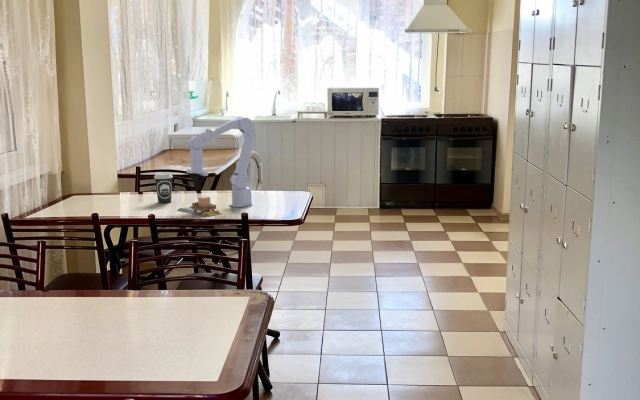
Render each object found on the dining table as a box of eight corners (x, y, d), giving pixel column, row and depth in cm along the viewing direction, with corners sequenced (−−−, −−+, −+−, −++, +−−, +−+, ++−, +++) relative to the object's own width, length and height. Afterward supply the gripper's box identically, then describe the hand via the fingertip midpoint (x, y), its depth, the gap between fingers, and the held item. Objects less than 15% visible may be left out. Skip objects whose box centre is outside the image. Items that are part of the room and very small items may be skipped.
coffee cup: (178, 201, 353) (176, 172, 350) (166, 204, 345) (165, 175, 342) (163, 200, 357) (161, 171, 354) (151, 203, 348) (149, 174, 346)
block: (205, 206, 325) (204, 196, 324) (210, 207, 322) (210, 197, 321) (198, 207, 322) (198, 197, 321) (203, 208, 319) (203, 198, 318)
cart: (206, 208, 328) (205, 200, 327) (216, 211, 323) (216, 202, 322) (192, 211, 322) (192, 203, 322) (202, 213, 317) (202, 205, 316)
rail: (192, 207, 336) (192, 204, 336) (221, 214, 321) (221, 210, 320) (177, 210, 330) (177, 206, 330) (206, 216, 314) (206, 213, 314)
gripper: (181, 160, 330) (182, 188, 333) (198, 163, 320) (200, 192, 323) (193, 159, 335) (194, 186, 338) (211, 162, 325) (212, 190, 328)
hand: (197, 189), depth 330 cm, fingers closed
